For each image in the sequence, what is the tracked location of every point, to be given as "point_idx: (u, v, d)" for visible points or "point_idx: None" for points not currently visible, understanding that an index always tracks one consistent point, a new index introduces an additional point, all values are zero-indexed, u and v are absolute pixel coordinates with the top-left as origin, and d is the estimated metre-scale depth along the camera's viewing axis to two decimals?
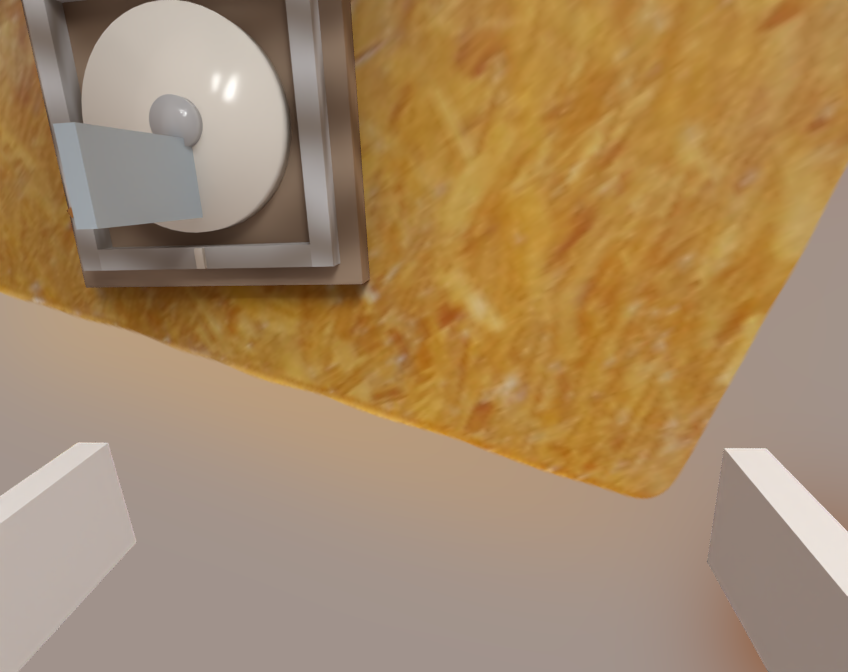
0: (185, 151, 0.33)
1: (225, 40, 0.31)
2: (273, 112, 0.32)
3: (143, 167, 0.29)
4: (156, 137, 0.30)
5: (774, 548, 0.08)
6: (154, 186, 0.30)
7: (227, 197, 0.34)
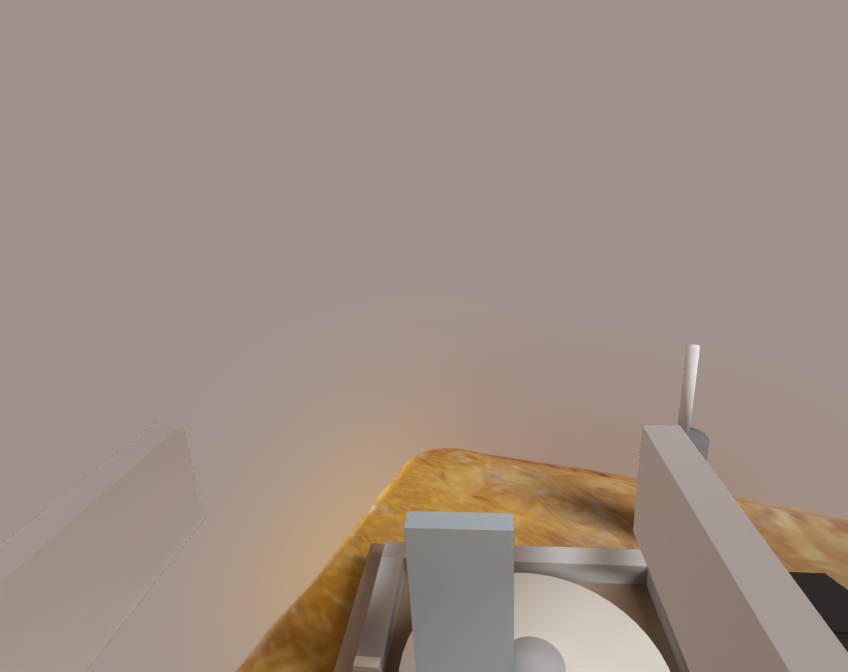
0: None
1: None
2: None
3: (472, 604, 0.25)
4: (509, 632, 0.25)
5: (672, 510, 0.09)
6: (451, 614, 0.25)
7: None
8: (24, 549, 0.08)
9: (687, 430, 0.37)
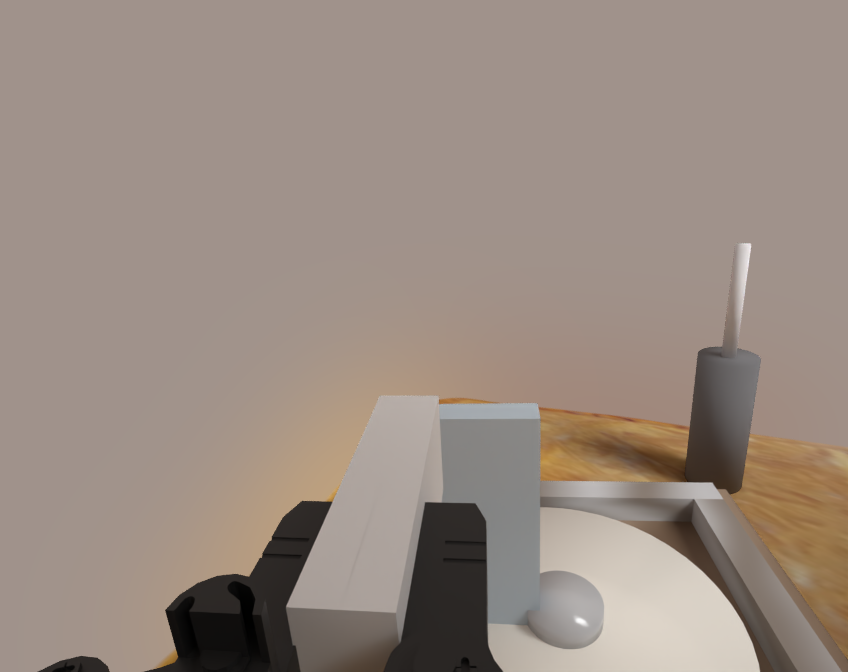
0: (519, 609, 0.21)
1: None
2: None
3: (487, 520, 0.20)
4: (534, 556, 0.20)
5: None
6: None
7: None
8: (362, 499, 0.09)
9: (734, 348, 0.31)
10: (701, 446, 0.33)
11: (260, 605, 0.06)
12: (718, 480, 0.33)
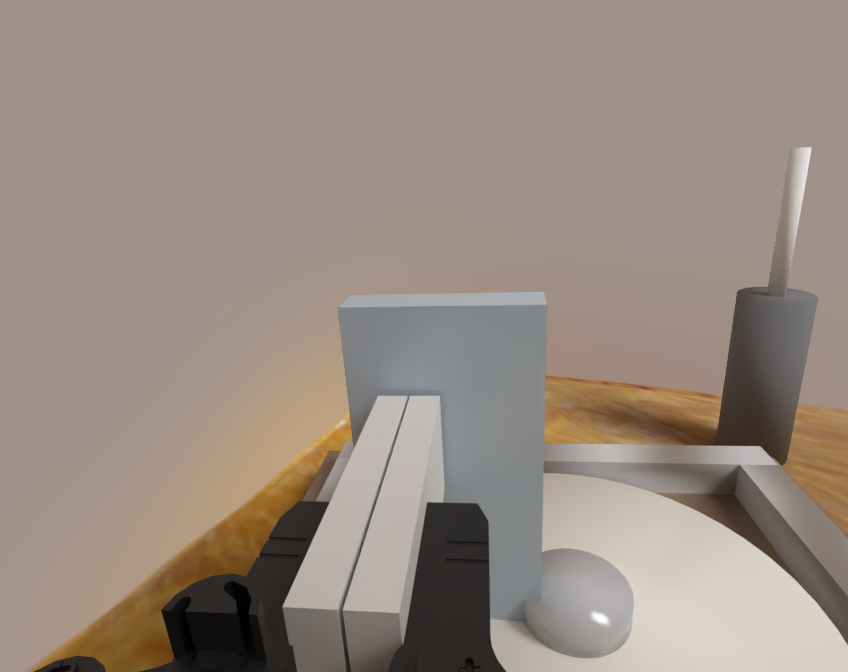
0: (511, 598, 0.15)
1: None
2: None
3: (467, 465, 0.13)
4: (534, 521, 0.14)
5: None
6: None
7: None
8: (359, 499, 0.09)
9: (784, 283, 0.25)
10: (739, 408, 0.27)
11: (256, 605, 0.06)
12: None
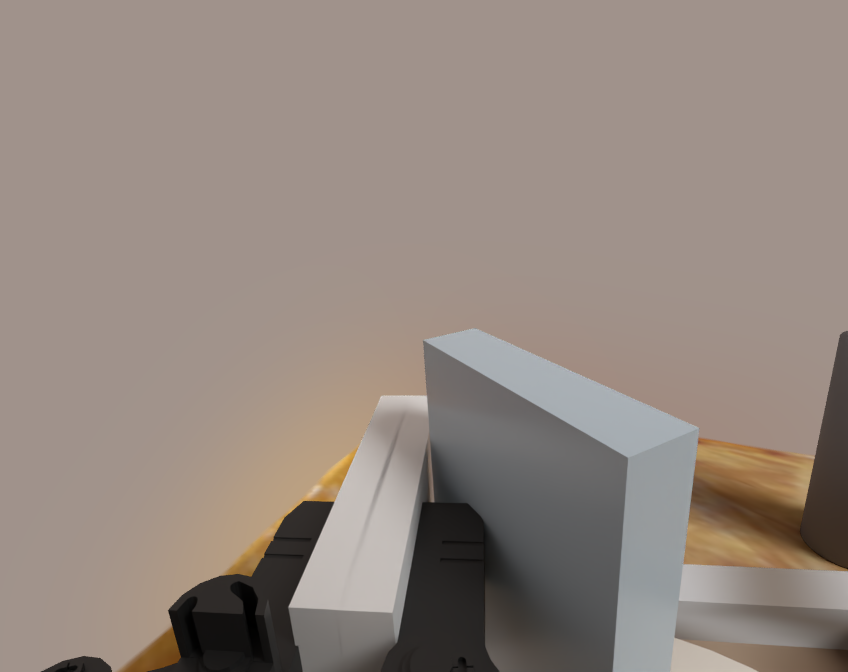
0: None
1: None
2: None
3: (521, 626, 0.09)
4: None
5: None
6: (487, 614, 0.10)
7: None
8: (364, 499, 0.09)
9: None
10: (842, 494, 0.20)
11: (263, 605, 0.06)
12: None
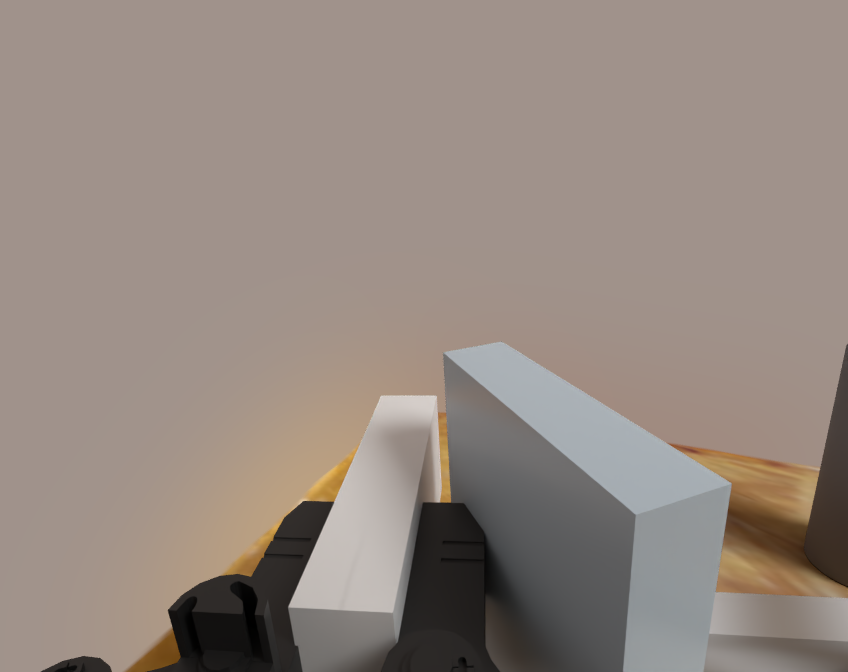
0: None
1: None
2: None
3: None
4: None
5: None
6: (498, 650, 0.09)
7: None
8: (364, 499, 0.09)
9: None
10: None
11: (263, 605, 0.06)
12: None
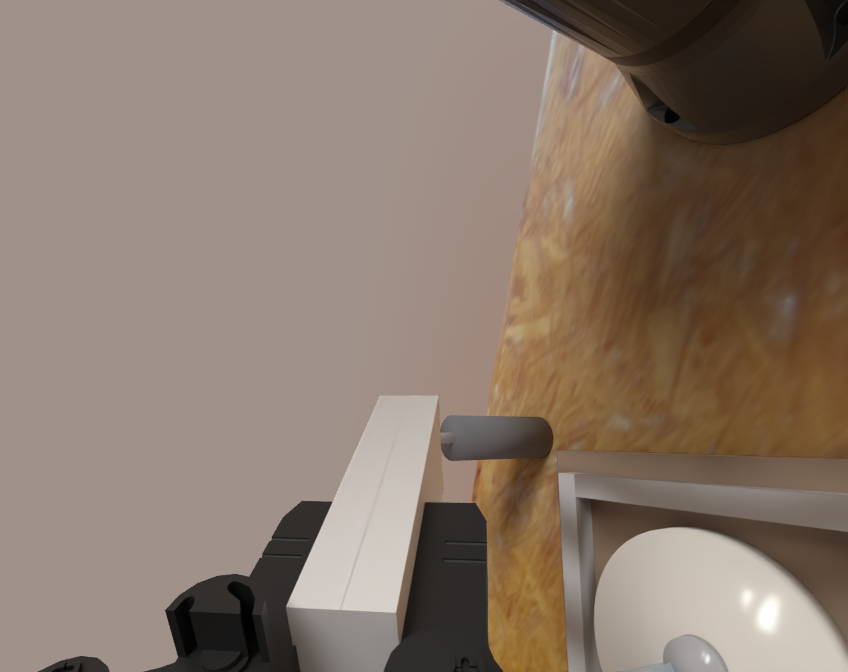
0: None
1: None
2: None
3: None
4: None
5: None
6: None
7: None
8: (362, 499, 0.09)
9: (447, 436, 0.39)
10: (519, 454, 0.41)
11: (260, 605, 0.06)
12: (543, 442, 0.42)
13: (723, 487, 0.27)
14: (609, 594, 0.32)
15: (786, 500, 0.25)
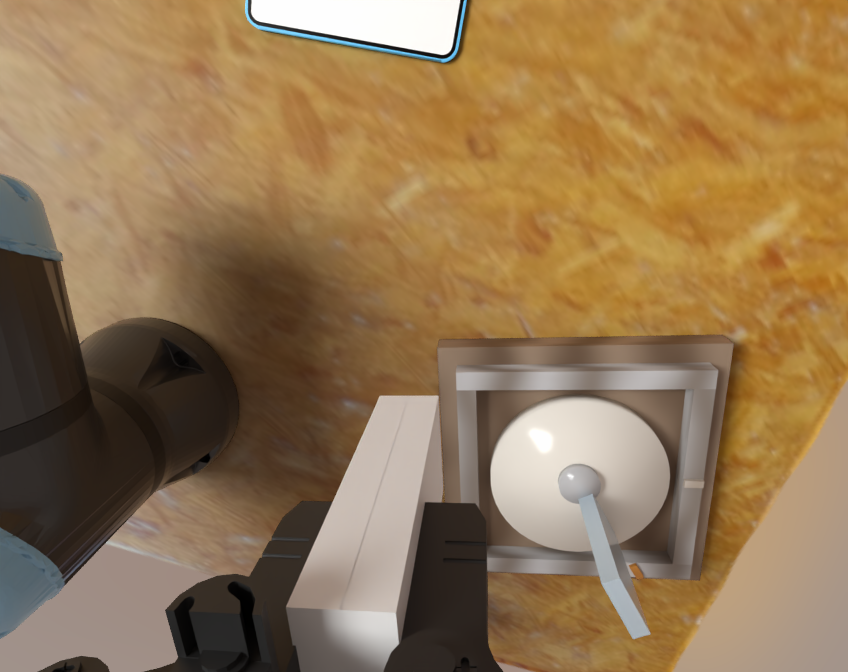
0: (596, 501, 0.41)
1: (601, 416, 0.39)
2: (655, 447, 0.39)
3: (615, 551, 0.37)
4: (600, 518, 0.38)
5: None
6: (619, 555, 0.38)
7: (633, 514, 0.42)
8: (362, 499, 0.09)
9: None
10: None
11: (260, 605, 0.06)
12: None
13: (459, 454, 0.42)
14: (547, 537, 0.43)
15: (463, 422, 0.41)
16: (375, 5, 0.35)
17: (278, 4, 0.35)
